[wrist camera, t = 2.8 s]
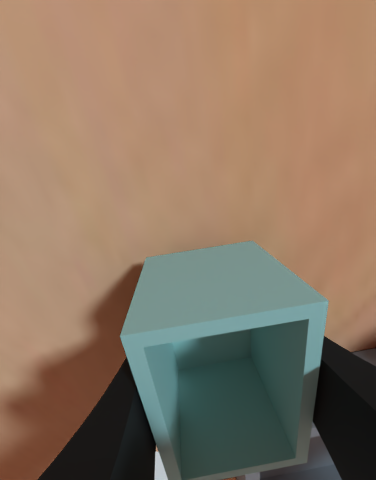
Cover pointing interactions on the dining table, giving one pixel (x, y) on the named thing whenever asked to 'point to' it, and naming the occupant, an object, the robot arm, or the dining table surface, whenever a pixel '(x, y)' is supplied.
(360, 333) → the dining table surface
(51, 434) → the dining table surface
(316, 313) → the teal crate
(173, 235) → the dining table surface
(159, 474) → the honey pot
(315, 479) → the charcoal crate
